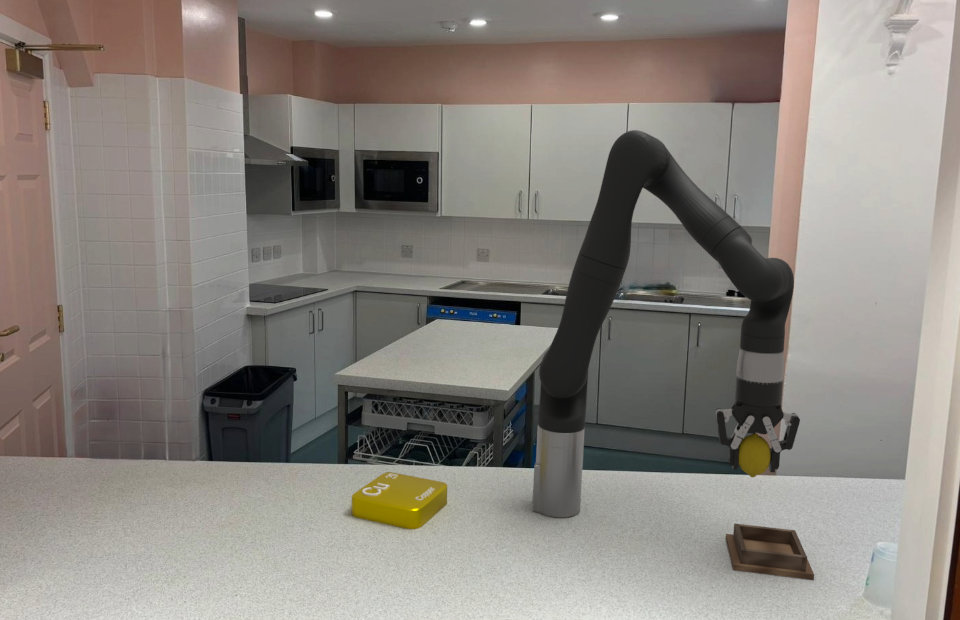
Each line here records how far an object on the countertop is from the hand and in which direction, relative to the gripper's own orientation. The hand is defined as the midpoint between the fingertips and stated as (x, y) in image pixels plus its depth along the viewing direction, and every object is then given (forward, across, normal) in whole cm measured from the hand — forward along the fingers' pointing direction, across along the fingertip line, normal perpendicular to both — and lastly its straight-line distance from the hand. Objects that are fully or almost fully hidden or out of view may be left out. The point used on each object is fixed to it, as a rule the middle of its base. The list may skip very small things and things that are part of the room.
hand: (753, 469), depth 135 cm
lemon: (+2, 0, 0) cm, 2 cm away
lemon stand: (+16, +3, 0) cm, 17 cm away
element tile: (+15, -65, +3) cm, 67 cm away
